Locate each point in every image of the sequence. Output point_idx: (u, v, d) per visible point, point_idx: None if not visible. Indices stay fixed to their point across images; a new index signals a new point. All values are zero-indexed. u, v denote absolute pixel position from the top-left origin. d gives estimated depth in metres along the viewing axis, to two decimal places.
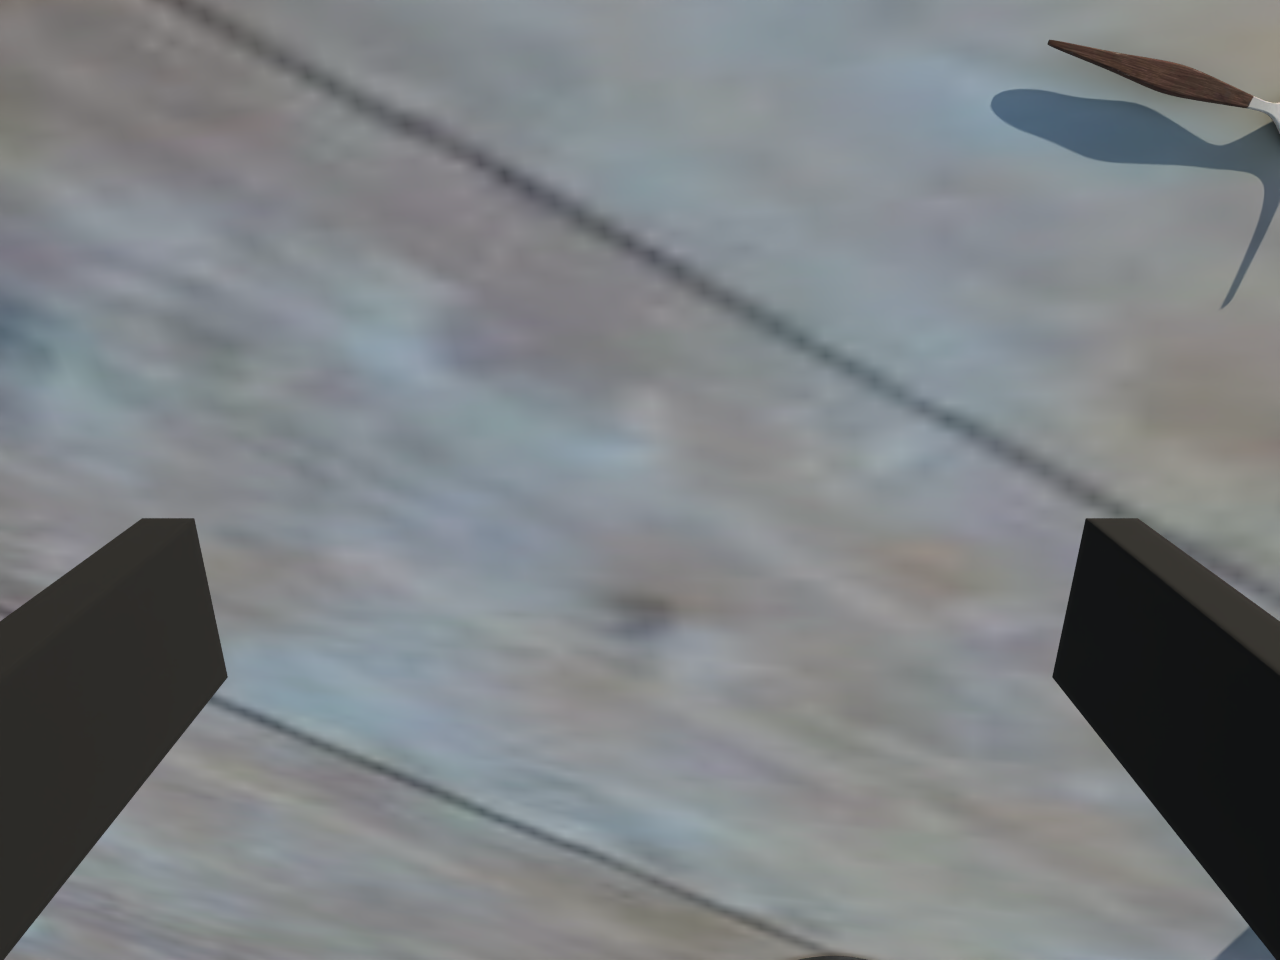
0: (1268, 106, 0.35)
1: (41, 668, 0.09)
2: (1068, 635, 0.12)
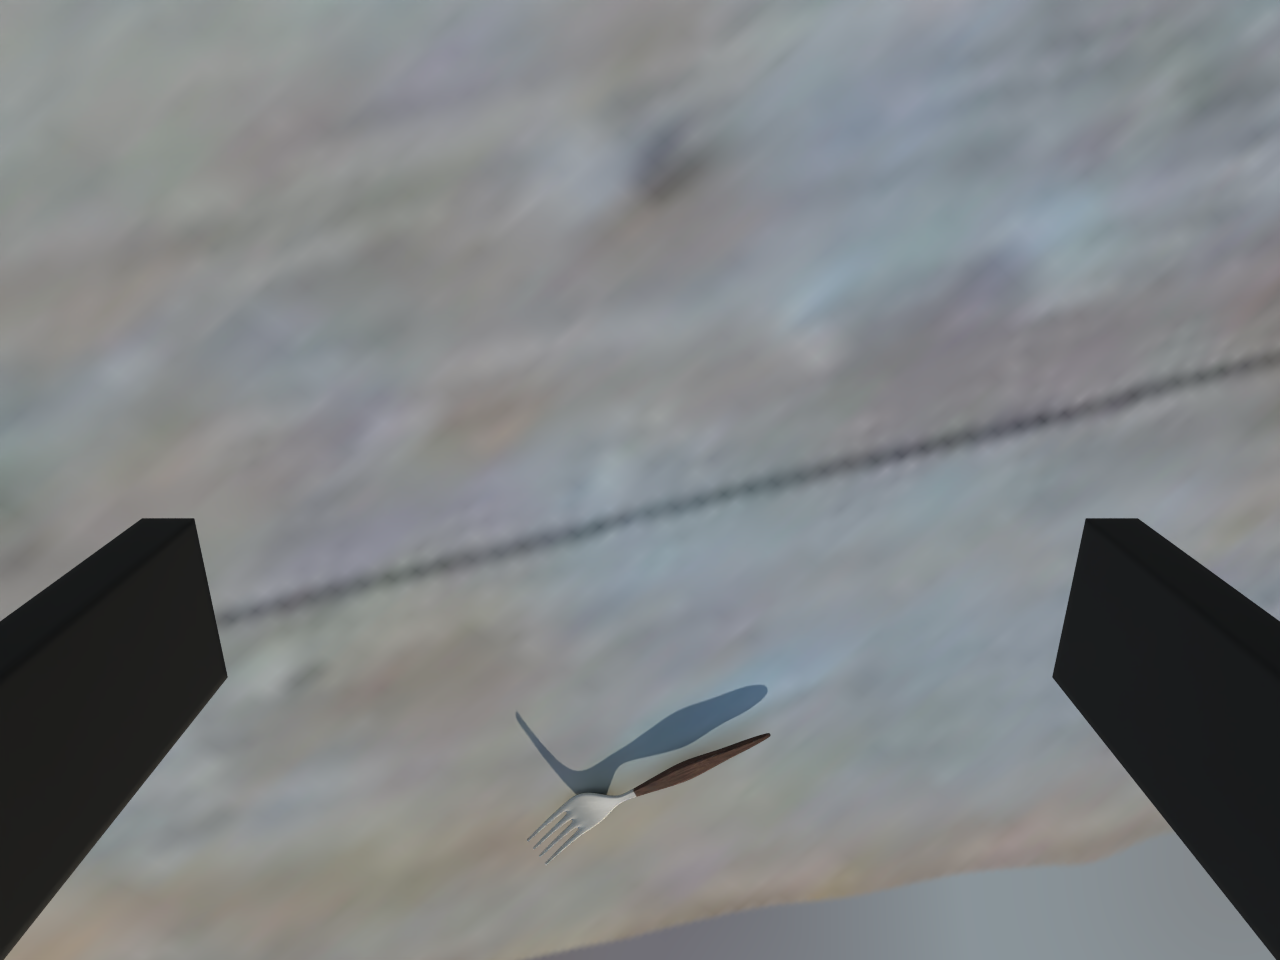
0: (623, 799, 0.51)
1: (41, 668, 0.09)
2: (1068, 635, 0.12)
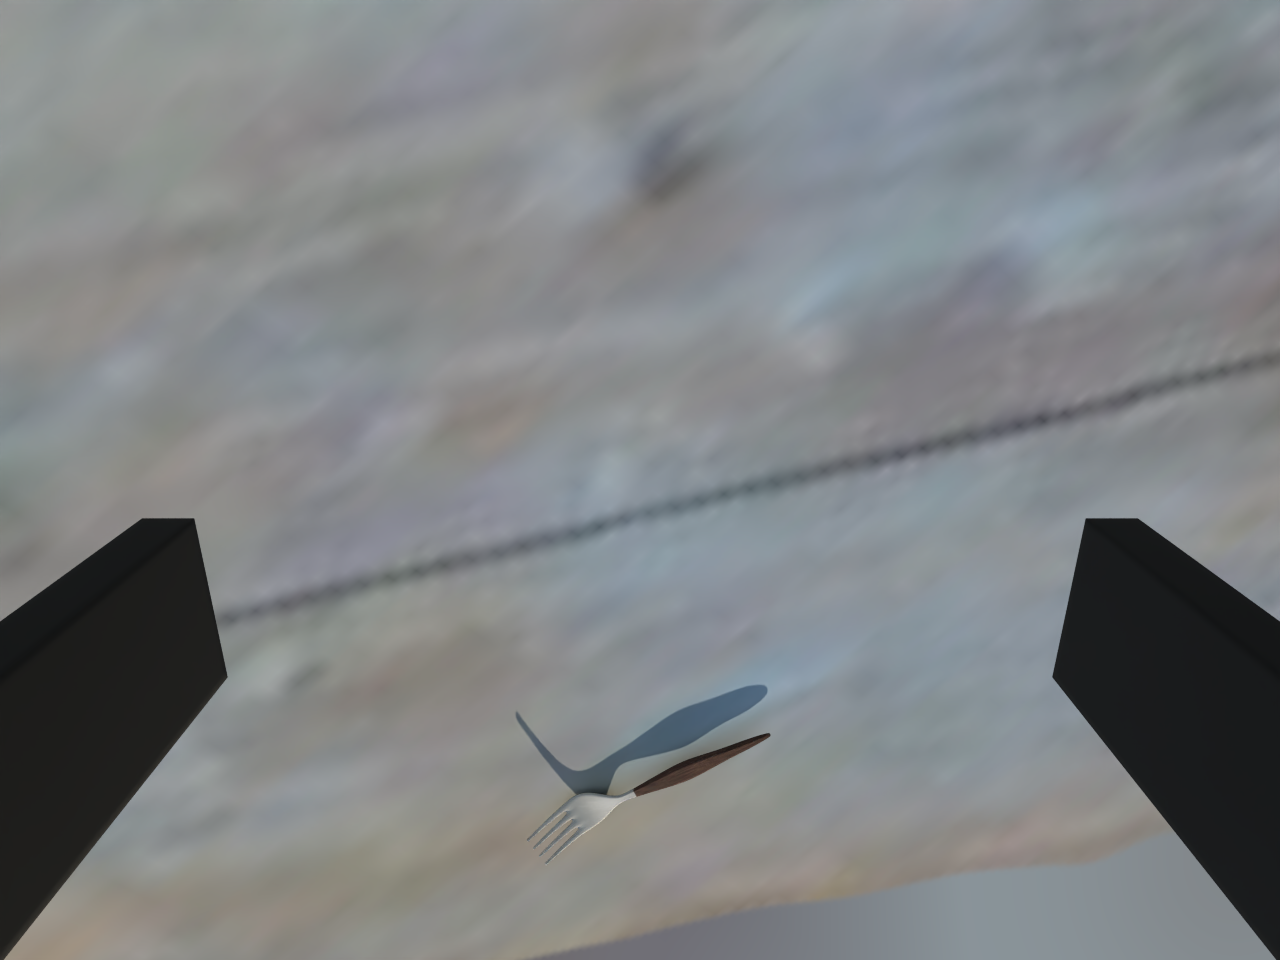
0: (623, 799, 0.51)
1: (41, 668, 0.09)
2: (1068, 635, 0.12)
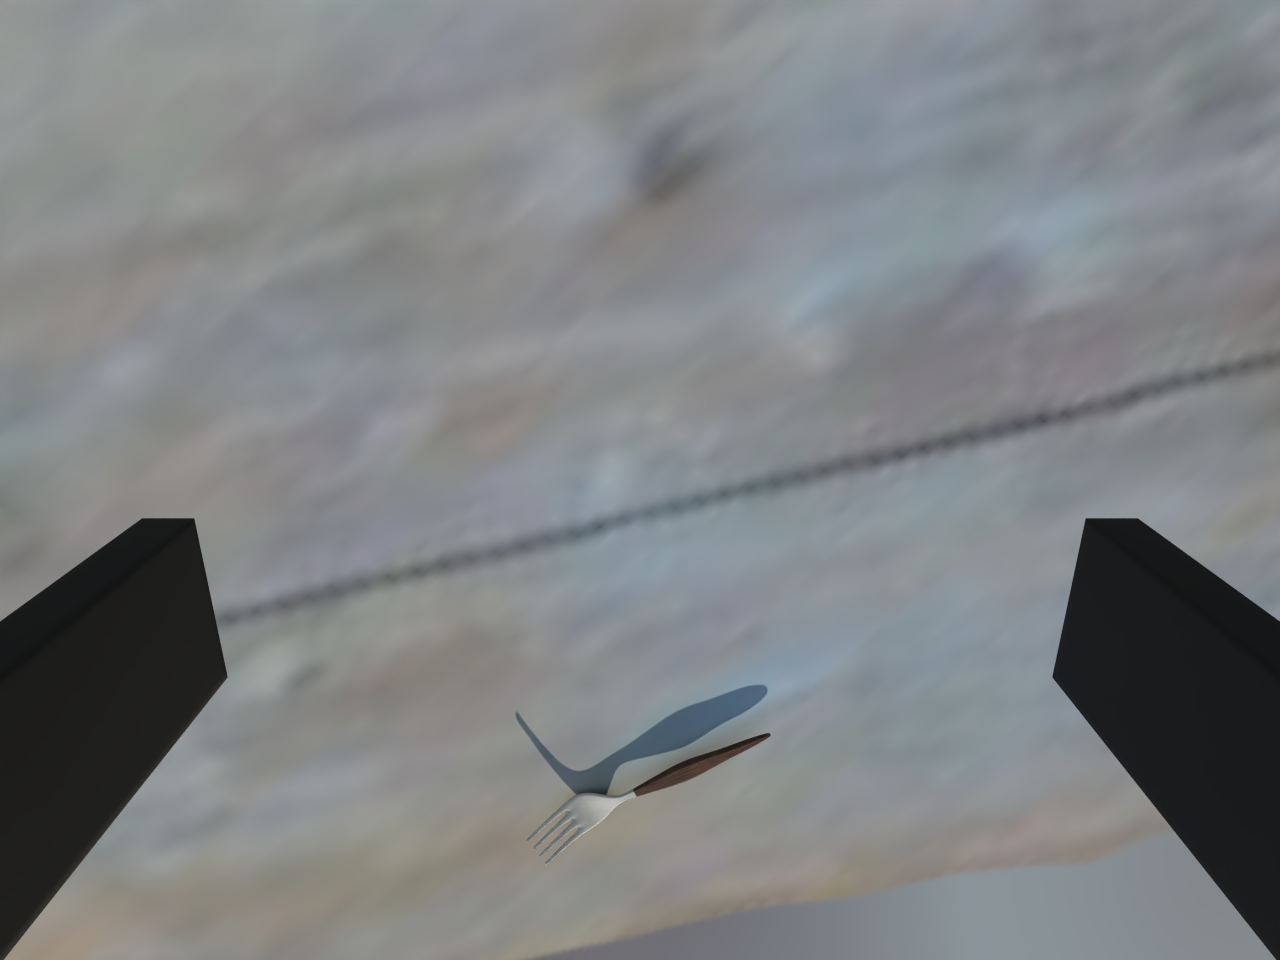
0: (623, 799, 0.51)
1: (41, 668, 0.09)
2: (1068, 635, 0.12)
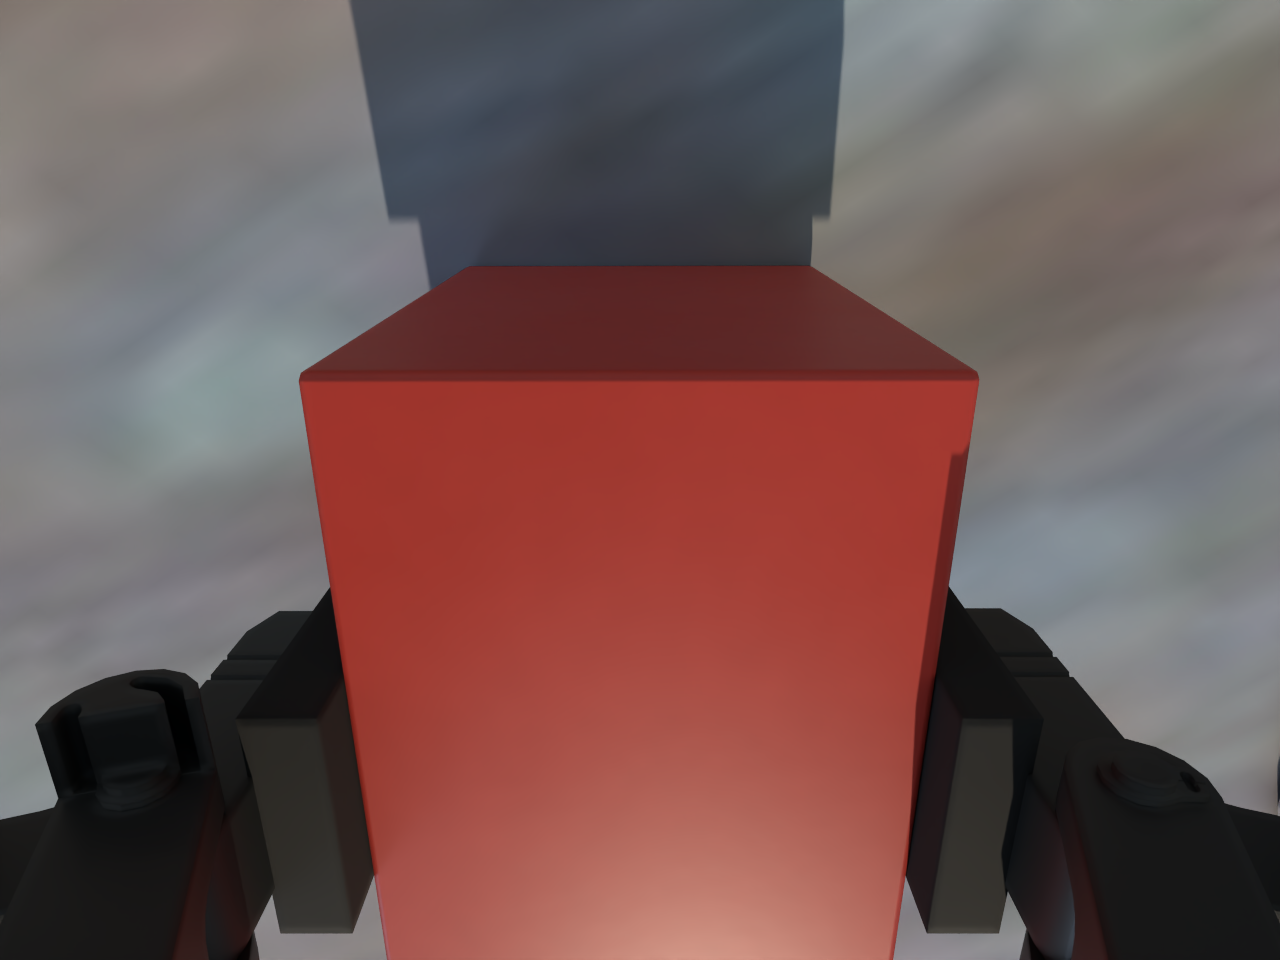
0: None
1: None
2: None
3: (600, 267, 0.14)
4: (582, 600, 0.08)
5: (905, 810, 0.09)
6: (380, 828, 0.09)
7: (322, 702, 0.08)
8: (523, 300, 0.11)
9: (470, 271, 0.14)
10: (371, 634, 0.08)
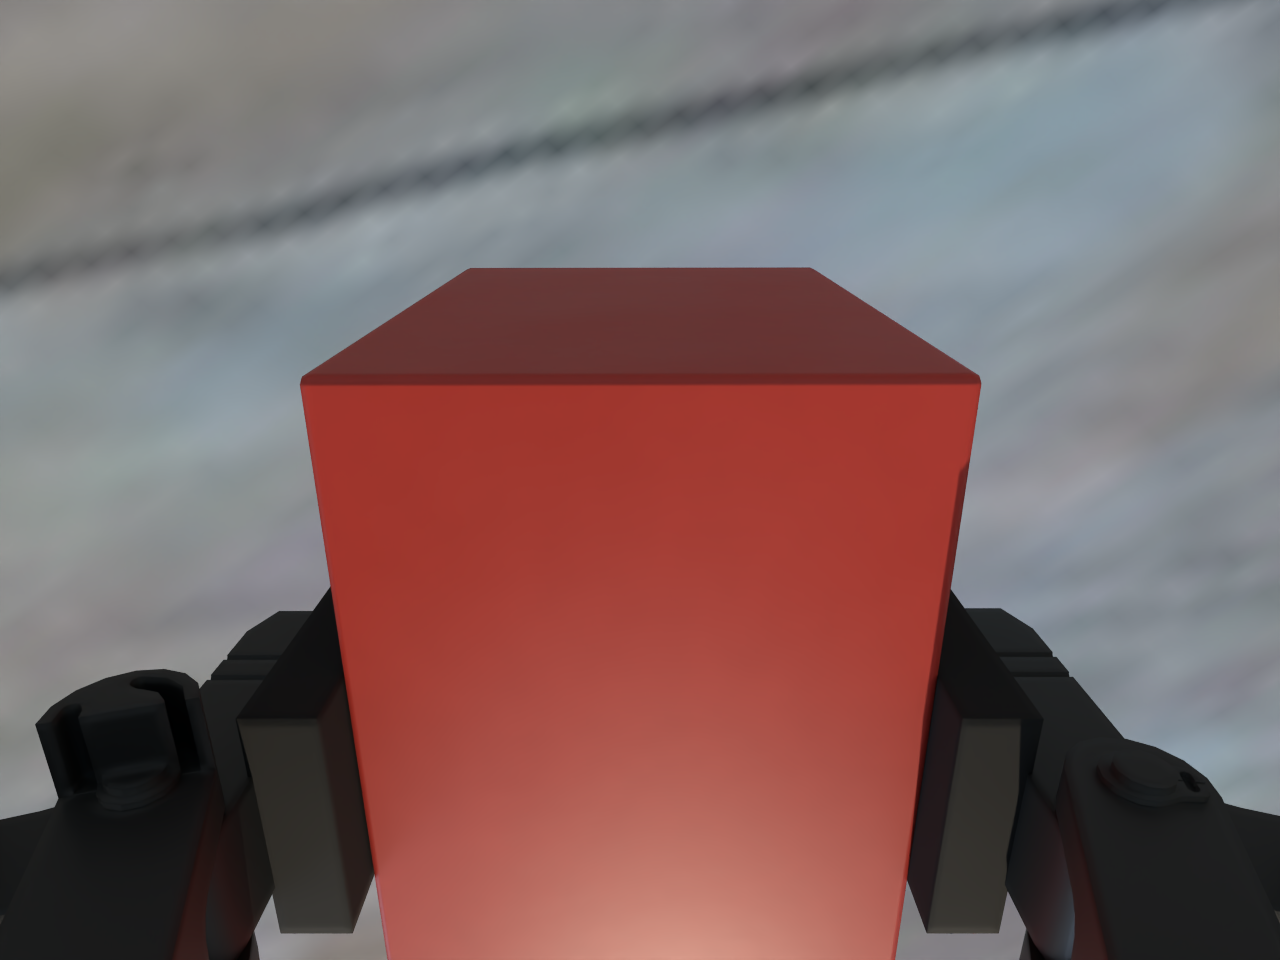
0: None
1: None
2: None
3: (601, 269, 0.14)
4: (583, 605, 0.08)
5: (906, 814, 0.09)
6: (381, 832, 0.09)
7: (322, 702, 0.08)
8: (524, 303, 0.11)
9: (471, 273, 0.14)
10: (372, 638, 0.08)
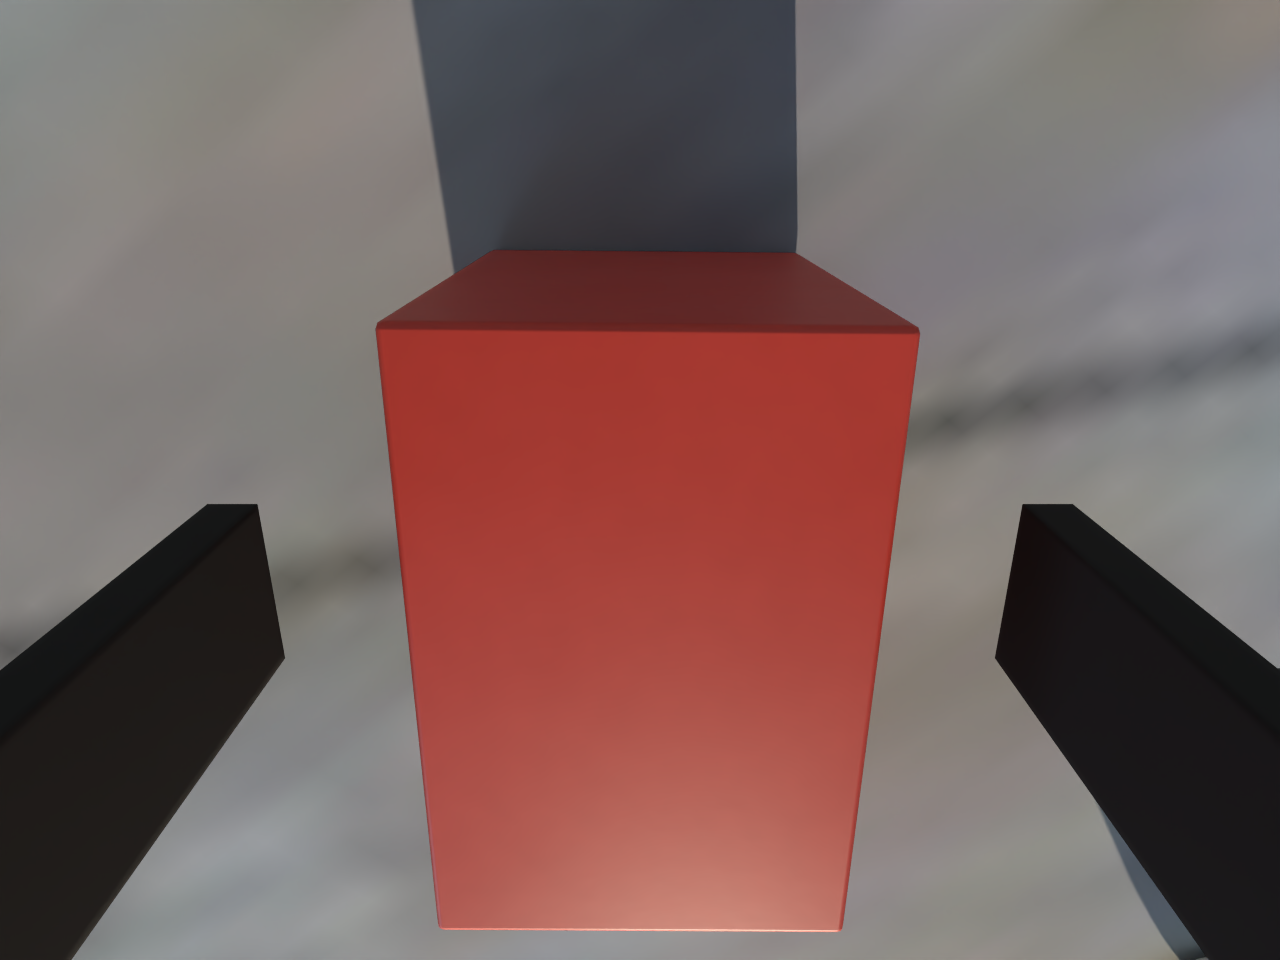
0: None
1: (132, 641, 0.09)
2: (1008, 617, 0.13)
3: (610, 252, 0.16)
4: (599, 514, 0.10)
5: (863, 698, 0.11)
6: (427, 709, 0.11)
7: None
8: (546, 275, 0.13)
9: (495, 253, 0.16)
10: (426, 541, 0.10)
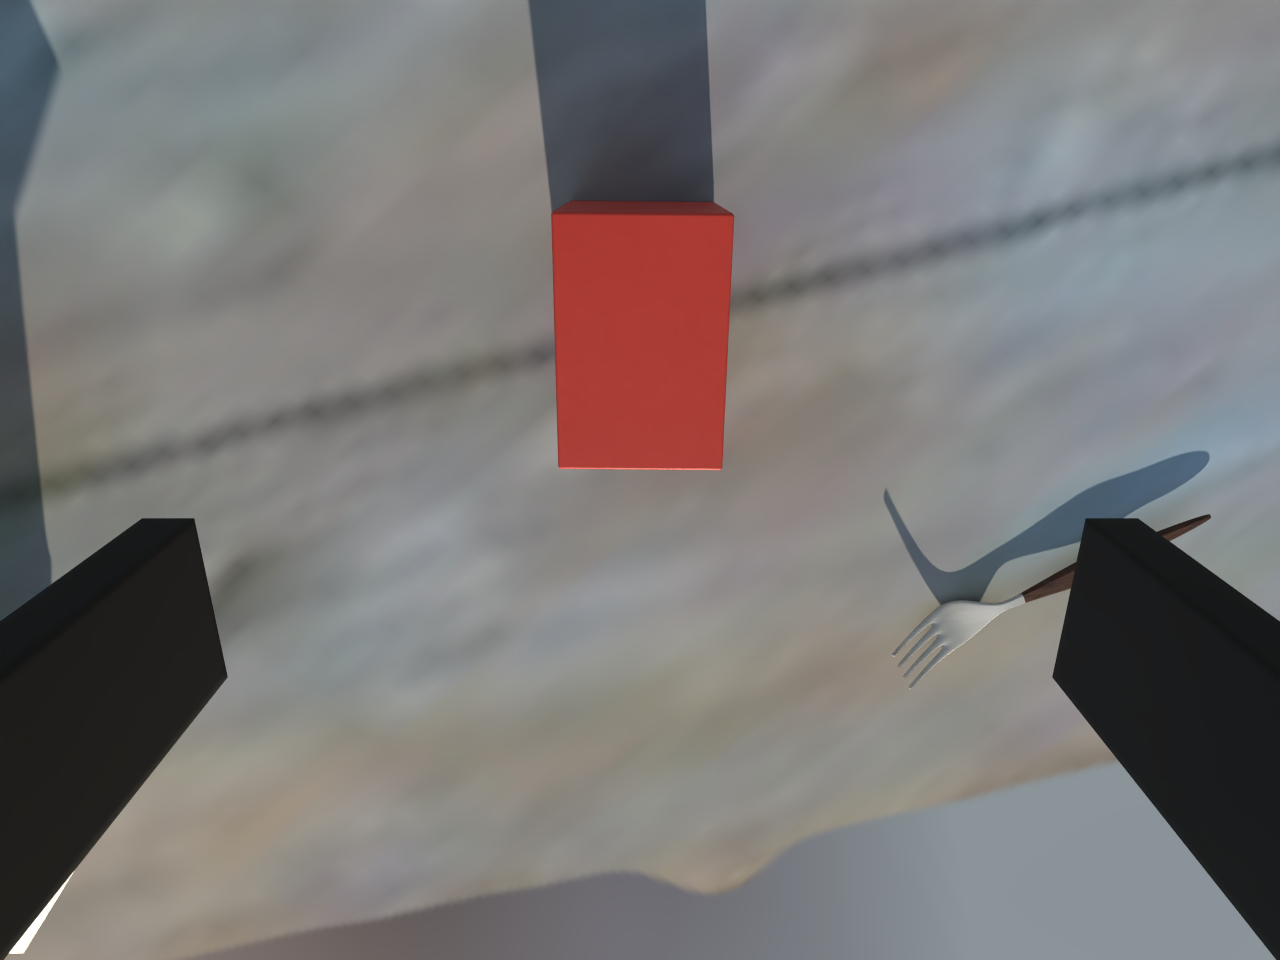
0: (1007, 606, 0.41)
1: (41, 668, 0.09)
2: (1068, 635, 0.12)
3: (626, 201, 0.34)
4: (625, 282, 0.28)
5: (723, 358, 0.29)
6: (560, 363, 0.29)
7: None
8: (601, 205, 0.31)
9: (573, 201, 0.34)
10: (564, 293, 0.28)
